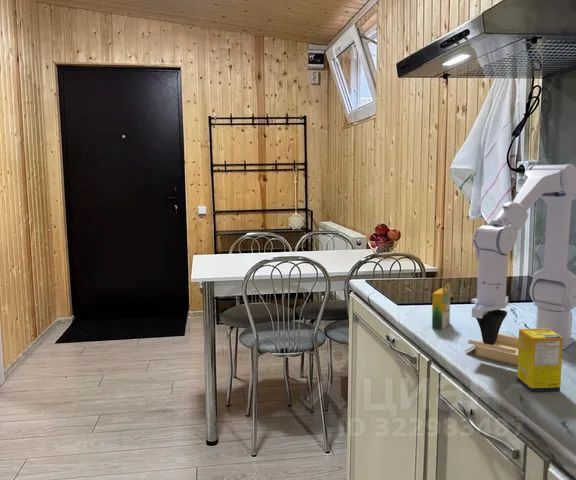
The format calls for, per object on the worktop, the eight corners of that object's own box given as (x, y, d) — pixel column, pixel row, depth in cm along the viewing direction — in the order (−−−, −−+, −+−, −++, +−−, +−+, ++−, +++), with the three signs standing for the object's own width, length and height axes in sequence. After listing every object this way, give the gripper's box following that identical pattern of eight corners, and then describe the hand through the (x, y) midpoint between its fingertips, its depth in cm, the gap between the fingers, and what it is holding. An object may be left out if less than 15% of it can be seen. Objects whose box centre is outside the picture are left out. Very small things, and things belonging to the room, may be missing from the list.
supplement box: (544, 379, 104) (547, 327, 102) (560, 391, 98) (564, 337, 96) (515, 379, 104) (518, 328, 102) (530, 392, 98) (533, 337, 96)
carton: (489, 338, 129) (490, 328, 129) (554, 352, 119) (554, 341, 118) (464, 353, 119) (464, 343, 118) (532, 370, 108) (533, 358, 108)
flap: (468, 339, 112) (468, 343, 112) (508, 348, 106) (507, 352, 106) (477, 341, 116) (476, 344, 115) (516, 349, 110) (515, 353, 110)
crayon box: (439, 321, 144) (440, 281, 143) (449, 322, 143) (451, 282, 141) (431, 328, 138) (432, 286, 137) (442, 329, 137) (443, 287, 135)
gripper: (487, 274, 116) (484, 331, 117) (458, 284, 105) (456, 347, 107) (519, 278, 111) (516, 338, 113) (492, 289, 100) (489, 355, 102)
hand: (489, 343), depth 109 cm, fingers closed
